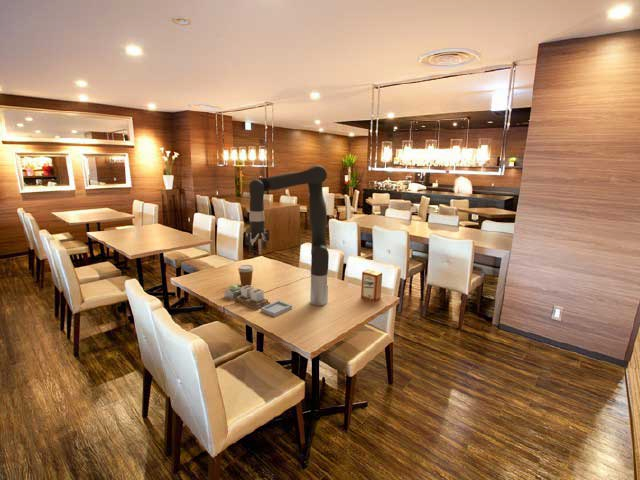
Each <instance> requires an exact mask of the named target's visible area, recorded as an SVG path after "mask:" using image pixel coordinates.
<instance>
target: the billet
mask: <svg viewBox="0 0 640 480" xmlns="http://www.w3.org/2000/svg"><path fill="white" fill-rule="evenodd" d="M250 292H251V302H253V303H256V304H257V303H260V302H262V301H264V299H265V293H264V290H262V289H260V288H255V289H254V290H252V291H250Z"/></svg>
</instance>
